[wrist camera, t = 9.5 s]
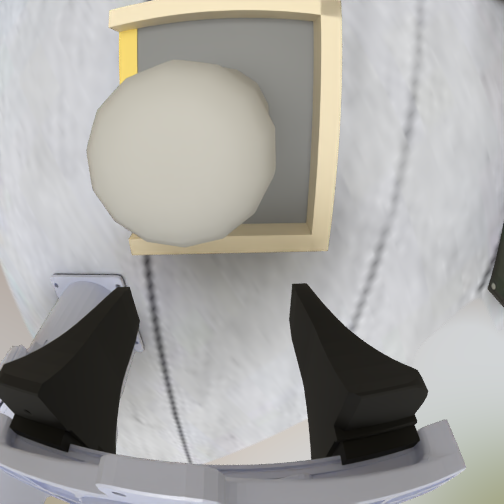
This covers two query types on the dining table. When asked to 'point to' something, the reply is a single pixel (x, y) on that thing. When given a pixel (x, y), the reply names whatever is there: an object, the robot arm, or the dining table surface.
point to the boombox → (498, 273)
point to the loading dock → (275, 92)
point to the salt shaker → (182, 152)
